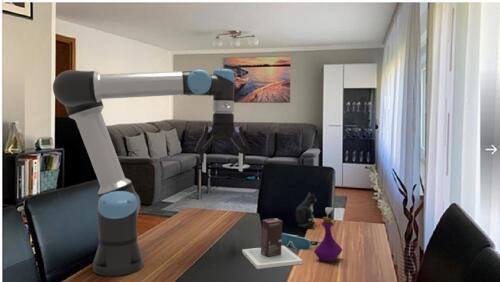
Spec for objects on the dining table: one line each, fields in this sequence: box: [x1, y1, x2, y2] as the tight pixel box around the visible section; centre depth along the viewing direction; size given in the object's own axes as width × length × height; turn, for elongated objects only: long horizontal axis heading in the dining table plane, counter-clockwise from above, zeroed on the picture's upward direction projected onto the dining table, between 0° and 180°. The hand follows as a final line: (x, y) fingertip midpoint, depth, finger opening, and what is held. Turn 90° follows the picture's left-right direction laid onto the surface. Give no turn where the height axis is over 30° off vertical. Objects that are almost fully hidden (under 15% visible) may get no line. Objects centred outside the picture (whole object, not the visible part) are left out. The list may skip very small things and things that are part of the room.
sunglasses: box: [281, 232, 323, 250], centre depth 161 cm, size 14×15×5 cm
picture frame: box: [241, 245, 304, 270], centre depth 144 cm, size 16×16×1 cm
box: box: [260, 217, 284, 257], centre depth 143 cm, size 6×4×12 cm
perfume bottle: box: [313, 206, 343, 264], centre depth 142 cm, size 8×8×18 cm
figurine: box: [294, 191, 317, 230], centre depth 182 cm, size 10×10×15 cm
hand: (222, 171), depth 152 cm, fingers open, 13 cm apart
